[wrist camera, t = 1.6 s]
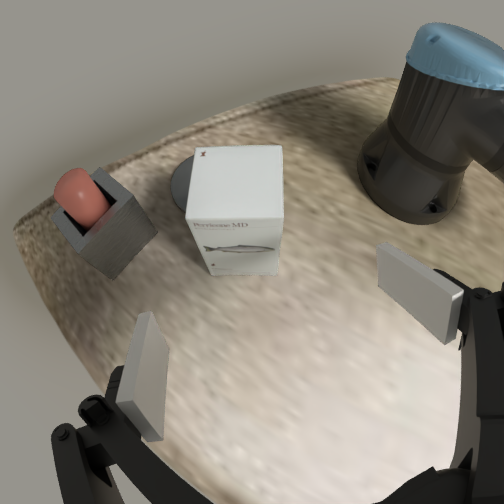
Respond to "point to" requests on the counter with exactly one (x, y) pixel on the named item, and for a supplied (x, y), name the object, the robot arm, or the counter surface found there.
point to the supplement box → (237, 208)
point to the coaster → (182, 183)
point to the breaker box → (109, 229)
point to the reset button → (81, 198)
